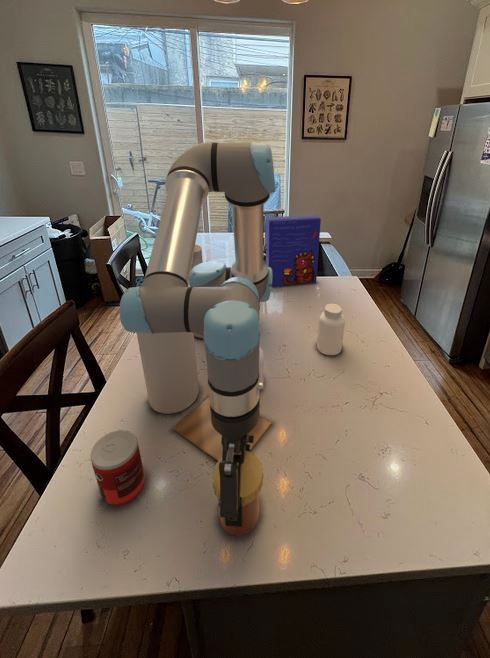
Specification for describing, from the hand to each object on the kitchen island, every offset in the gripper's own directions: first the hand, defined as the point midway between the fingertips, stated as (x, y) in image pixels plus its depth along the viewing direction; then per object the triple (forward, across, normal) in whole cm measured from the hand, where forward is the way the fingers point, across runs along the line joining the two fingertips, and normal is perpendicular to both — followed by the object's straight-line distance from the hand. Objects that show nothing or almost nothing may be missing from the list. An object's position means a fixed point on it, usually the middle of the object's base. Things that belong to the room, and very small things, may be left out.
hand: (238, 494), depth 59 cm
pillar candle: (+6, +96, +38) cm, 103 cm away
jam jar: (+5, 0, 0) cm, 5 cm away
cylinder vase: (+6, +26, +22) cm, 35 cm away
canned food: (+6, +3, +24) cm, 24 cm away
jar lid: (-5, 0, 0) cm, 5 cm away
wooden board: (+5, +18, +7) cm, 20 cm away
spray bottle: (+6, +32, +4) cm, 33 cm away
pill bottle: (+6, +49, -20) cm, 54 cm away
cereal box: (+6, +94, -7) cm, 95 cm away
